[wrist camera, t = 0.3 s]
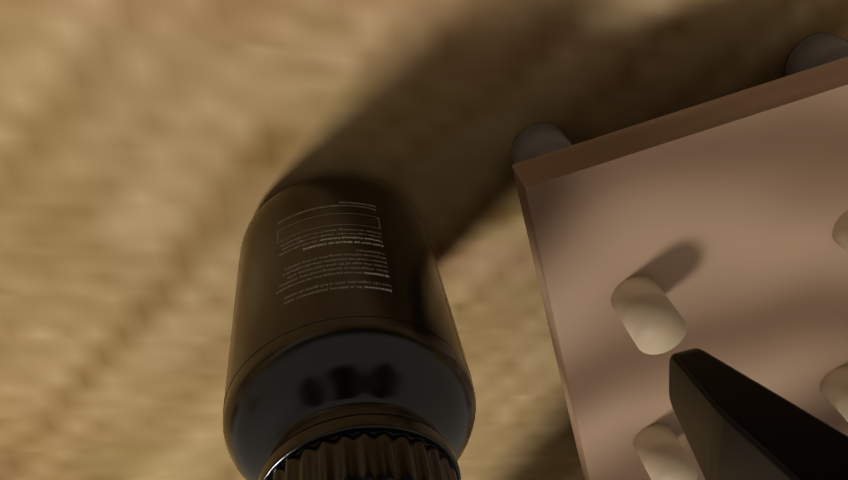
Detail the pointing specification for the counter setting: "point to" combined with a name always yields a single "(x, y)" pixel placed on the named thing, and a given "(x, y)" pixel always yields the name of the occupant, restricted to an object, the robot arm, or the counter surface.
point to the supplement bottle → (344, 342)
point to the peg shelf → (695, 258)
